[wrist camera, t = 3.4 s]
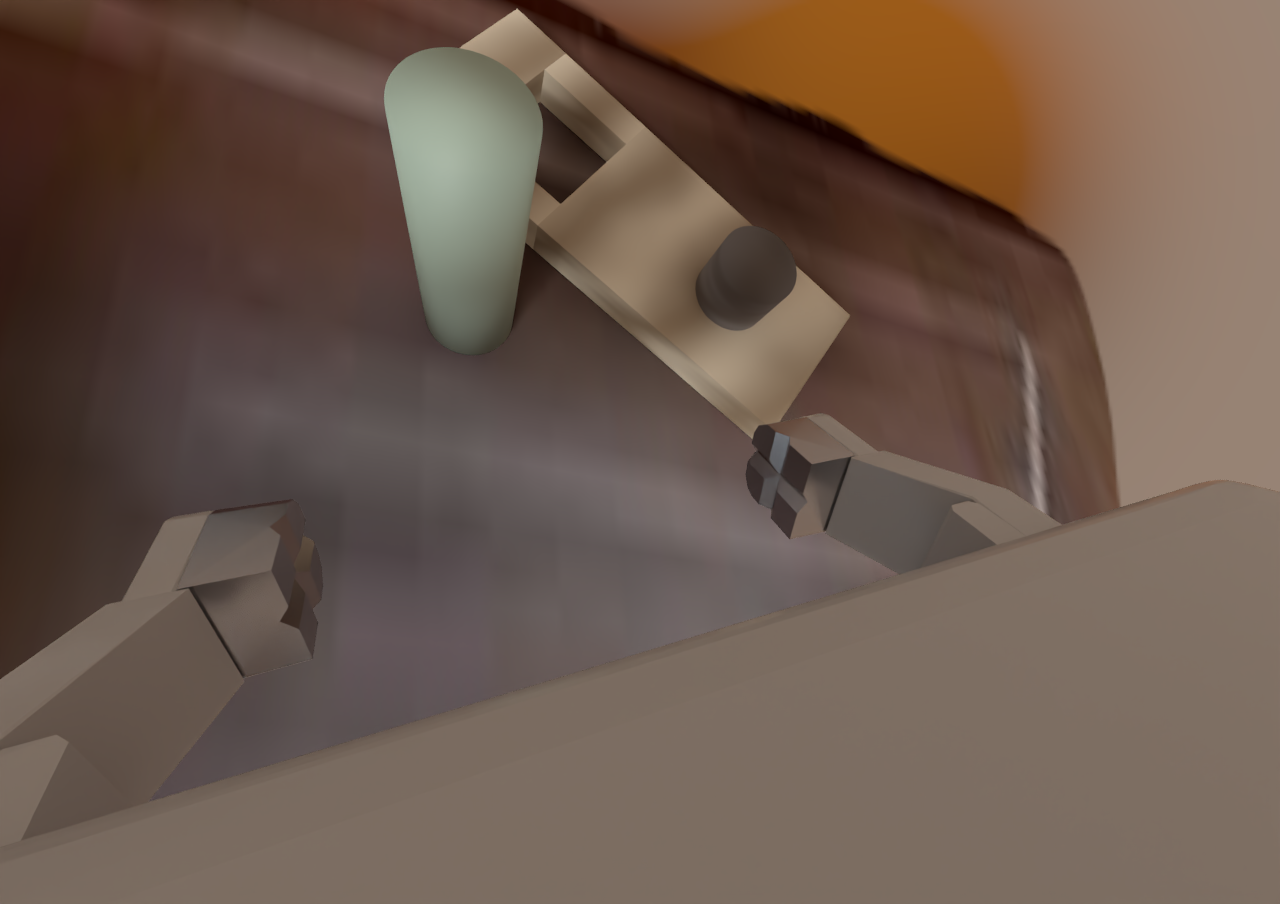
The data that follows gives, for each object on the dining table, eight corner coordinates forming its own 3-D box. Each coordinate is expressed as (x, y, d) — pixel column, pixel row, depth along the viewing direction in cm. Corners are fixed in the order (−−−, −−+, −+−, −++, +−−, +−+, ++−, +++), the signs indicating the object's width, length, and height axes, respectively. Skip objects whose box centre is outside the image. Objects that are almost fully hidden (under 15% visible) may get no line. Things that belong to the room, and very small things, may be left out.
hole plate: (394, 129, 26) (377, 33, 21) (514, 44, 29) (522, -56, 24) (753, 440, 28) (808, 414, 24) (827, 330, 31) (889, 289, 27)
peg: (405, 315, 24) (347, 96, 13) (465, 262, 26) (459, 23, 14) (474, 371, 25) (475, 206, 13) (529, 316, 26) (571, 125, 15)
